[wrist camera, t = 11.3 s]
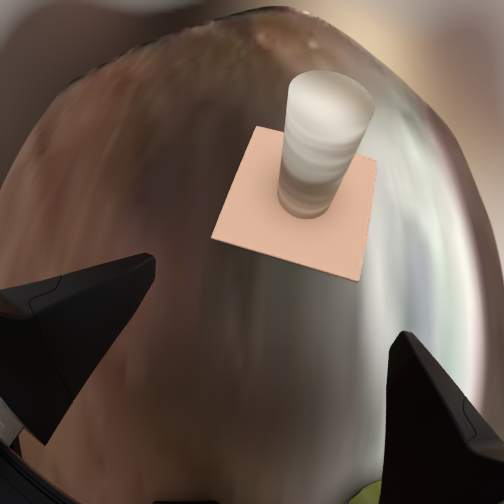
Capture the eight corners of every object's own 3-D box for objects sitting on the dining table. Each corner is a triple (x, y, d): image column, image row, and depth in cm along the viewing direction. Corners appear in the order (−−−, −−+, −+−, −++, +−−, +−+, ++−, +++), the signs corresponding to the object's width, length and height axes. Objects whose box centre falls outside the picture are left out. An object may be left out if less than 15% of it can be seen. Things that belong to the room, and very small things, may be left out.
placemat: (357, 282, 23) (358, 281, 23) (211, 238, 24) (211, 237, 24) (375, 162, 27) (376, 160, 26) (256, 128, 28) (256, 126, 28)
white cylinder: (303, 230, 24) (337, 140, 13) (265, 190, 25) (270, 87, 14) (342, 198, 25) (389, 107, 14) (305, 162, 26) (328, 62, 15)
